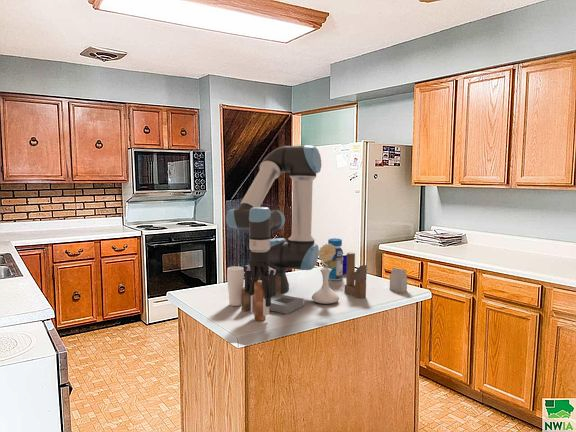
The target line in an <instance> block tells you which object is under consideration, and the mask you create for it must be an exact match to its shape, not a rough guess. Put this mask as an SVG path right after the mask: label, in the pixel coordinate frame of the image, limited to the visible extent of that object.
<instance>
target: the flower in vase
mask: <svg viewBox="0 0 576 432" xmlns="http://www.w3.org/2000/svg"><path fill="white" fill-rule="evenodd" d="M335 251H336V250H335V247H334V246H333V245H332V244H330V243H329V244H328V243H325V244H323V245H322V246H321V247H320V248H319V254H318V259H319V260H320V262H321V264H324V265H326V266H327V264H326V263H324V262H326V261H327V260H328V261H329V260H330V263H329V265H330V268H336V265H335V263H334V262H332V263H331V259H332V257H334V255H335V253H336V252H335ZM329 265H328V267H329ZM328 267H327V268H323V267H322V268H319V270H320V272H321V273H320V274H321V275H322V286H321V287H320V288H319V289H318V290H316V291H315V292H314V293H313V294H312V295H311V300H312V301H313V302H316V303H317V304H325V305H326V304H330V305H331V304H333V303H337V302H339V300H340V297H339V295H338V294H337V293H336V292H335V291H334V290H333V289H331V288H330V286H329V279H328V278H329V274H330V272H331V270H332V269H330V268H328Z"/></svg>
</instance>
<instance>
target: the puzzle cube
mask: <svg viewBox="0 0 576 432" xmlns="http://www.w3.org/2000/svg"><path fill="white" fill-rule="evenodd" d="M342 256H343V272H342V274H343V275H345V274H346V273H347V253H344V252H343V255H342ZM324 263H326V264H327V261H326V262H324ZM322 264H323V263H322ZM322 268H327V266H326V265H324V264H323V267H322Z"/></svg>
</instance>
